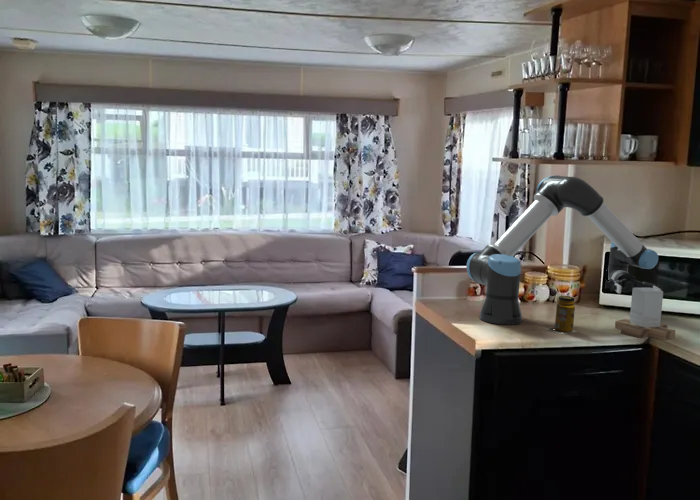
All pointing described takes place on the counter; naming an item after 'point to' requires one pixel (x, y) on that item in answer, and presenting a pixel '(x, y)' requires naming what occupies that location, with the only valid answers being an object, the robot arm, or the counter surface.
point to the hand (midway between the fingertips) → (639, 291)
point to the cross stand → (644, 330)
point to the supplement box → (646, 307)
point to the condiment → (564, 315)
